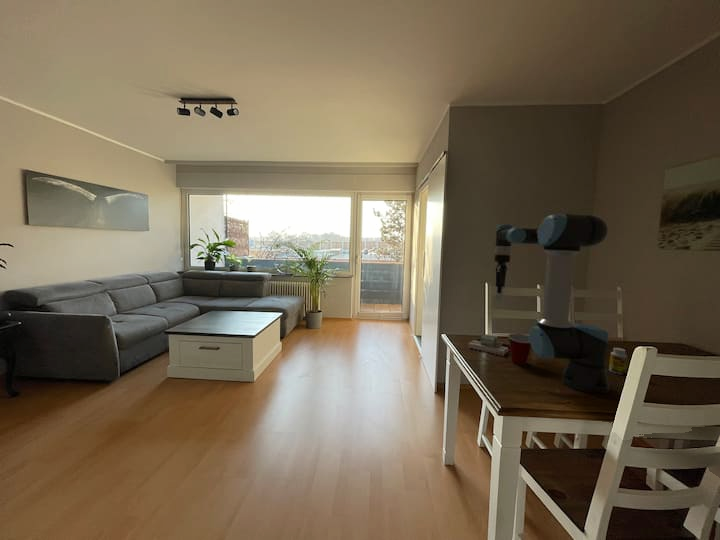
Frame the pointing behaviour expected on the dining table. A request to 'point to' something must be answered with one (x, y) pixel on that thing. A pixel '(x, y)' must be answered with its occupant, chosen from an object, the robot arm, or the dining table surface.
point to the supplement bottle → (618, 361)
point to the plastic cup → (519, 348)
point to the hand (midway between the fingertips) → (499, 298)
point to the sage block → (489, 340)
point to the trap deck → (498, 349)
